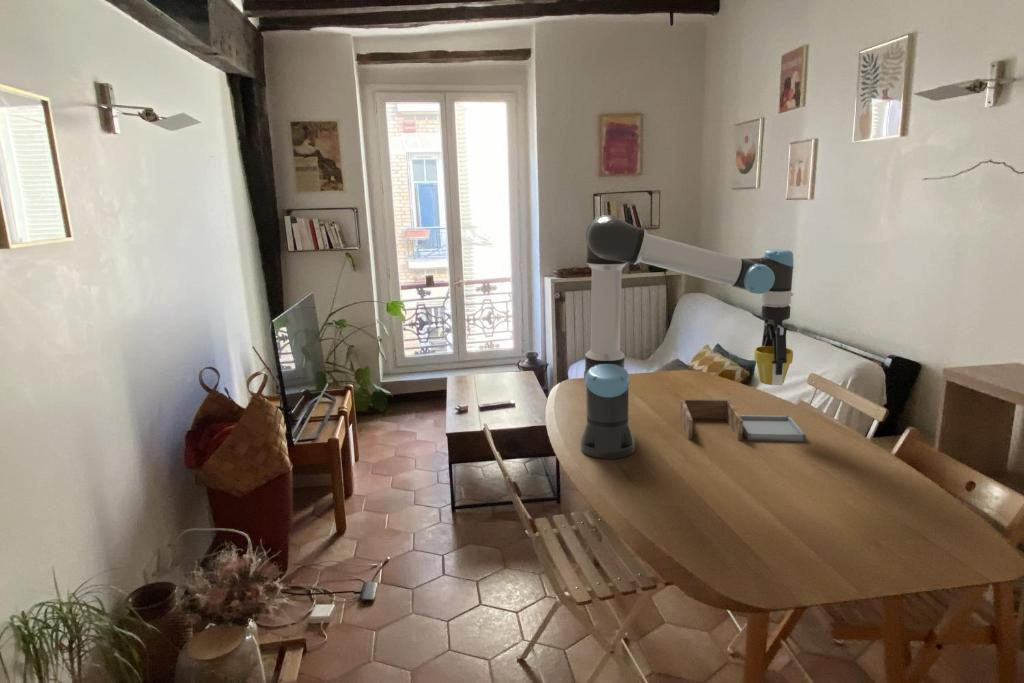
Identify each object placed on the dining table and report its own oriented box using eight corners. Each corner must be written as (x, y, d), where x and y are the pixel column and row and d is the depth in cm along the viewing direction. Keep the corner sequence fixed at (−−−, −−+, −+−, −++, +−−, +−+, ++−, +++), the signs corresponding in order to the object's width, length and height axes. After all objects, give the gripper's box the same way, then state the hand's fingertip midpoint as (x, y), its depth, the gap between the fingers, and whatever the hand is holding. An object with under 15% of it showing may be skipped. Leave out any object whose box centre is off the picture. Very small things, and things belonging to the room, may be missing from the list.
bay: (742, 440, 178) (743, 420, 177) (688, 439, 181) (689, 420, 179) (728, 417, 197) (729, 399, 195) (680, 416, 199) (680, 399, 198)
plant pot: (794, 387, 175) (797, 354, 173) (756, 386, 177) (758, 353, 175) (786, 377, 185) (788, 345, 183) (750, 376, 187) (751, 345, 185)
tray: (805, 441, 176) (805, 434, 176) (748, 440, 178) (748, 433, 178) (788, 421, 191) (789, 415, 191) (736, 421, 193) (736, 415, 193)
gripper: (802, 311, 165) (797, 391, 170) (778, 298, 187) (774, 368, 192) (773, 312, 166) (768, 391, 171) (752, 298, 188) (749, 369, 193)
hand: (772, 379), depth 181 cm, fingers closed on plant pot, 10 cm apart
